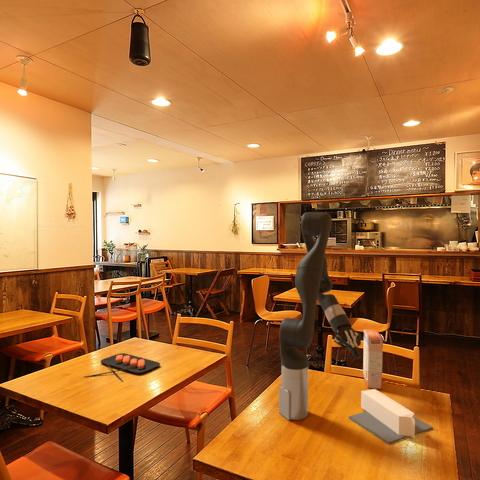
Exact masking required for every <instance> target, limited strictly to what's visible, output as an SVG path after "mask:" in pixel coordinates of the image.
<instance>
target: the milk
mask: <svg viewBox="0 0 480 480" xmlns="http://www.w3.org/2000/svg"><path fill="white" fill-rule="evenodd" d="M360 392H361V393H360V397H361V399H360V401H361V402H360V408H361V409H362V410H364V411H365V412H366V411H367V412H368V413H370V414H371V415H372V416H374V417H375V418H376V419H378V420H379V421H381V422H382V423H383V424H385V425H386V426H387V427H389V428H390V429H391V430H393V431H394V432H396V433H397V434H398V435H402V436H411V438H412V439H416V435H415V420H414V417H415V413H414V412H413V411H411V410H409V409H408V408H407V407H405V406H403V405H402V404H400V403H399V402H397V401H395V400H393V399H392V398H390V397H389V396H387V395H385V394H384V393H383V392H381V391H379V390H378V389H374V388H371V389H366V390H361V391H360Z"/></svg>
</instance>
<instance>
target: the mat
mask: <svg viewBox="0 0 480 480" xmlns="http://www.w3.org/2000/svg"><path fill="white" fill-rule="evenodd" d="M348 419H349V420H351V421H352V422H354V423H355V424H357V425H358V426H360V427H361V428H362V429H364V430H366V431H367V432H369V433H371V434H372V435H374V437H375V436H376V437H377V438H378V439H380V440H381V441H383V442H384V443H386V444H387V445H390V444H393V443H396V442H399V441H401V440H404V439H407V438H410V437H411V436H402V435H398V434H397V433H396V432H394V431H393V430H391V429H390V428H389V427H387V426H386V425H385V424H383V423H382V422H381V421H379V420H378V419H376V418H375V417H374V416H372V415H371V414H370V413H368V412H367V411H366V410H365V411H363V412H359V413H356V414H351V415H348ZM414 420H415V436H416V435H420V434H422V433H424V432H427V431H431V430H433V429H434V426H432V425H430V424H428V423H427V422H424V421H423V420H421V419H419V418H417V417H415V416H414ZM411 438H412V437H411Z"/></svg>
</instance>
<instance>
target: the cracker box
mask: <svg viewBox="0 0 480 480" xmlns="http://www.w3.org/2000/svg"><path fill="white" fill-rule="evenodd" d="M383 340H384V338H383V337H382V336H381V334H380V333H379V332H378V330H377V329H368V328H367V329H365V328H364V329H363V360H362V361H363V363H362V365H363V366H362V376H363V379H364V381H365V384H366V386H367V388H368V389H376V390H382V389H383V385H382V384H383V350H384V348H383V347H384V346H383V345H384V344H383V342H384V341H383Z"/></svg>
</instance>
